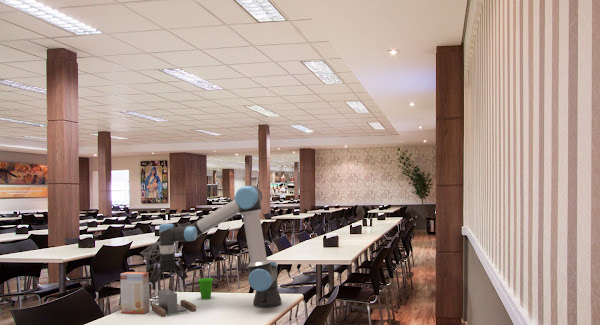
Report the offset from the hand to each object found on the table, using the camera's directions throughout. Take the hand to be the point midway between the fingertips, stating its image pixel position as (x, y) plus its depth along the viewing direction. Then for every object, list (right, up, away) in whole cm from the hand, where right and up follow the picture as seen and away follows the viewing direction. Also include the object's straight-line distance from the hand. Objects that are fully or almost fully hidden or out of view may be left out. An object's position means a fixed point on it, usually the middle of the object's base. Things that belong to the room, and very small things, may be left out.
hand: (168, 293), depth 270 cm
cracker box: (-18, -10, +1) cm, 21 cm away
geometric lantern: (-10, -11, +18) cm, 23 cm away
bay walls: (+2, -9, +1) cm, 10 cm away
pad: (+2, -9, +1) cm, 10 cm away
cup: (+14, -10, +29) cm, 34 cm away
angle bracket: (+2, -9, +1) cm, 9 cm away
